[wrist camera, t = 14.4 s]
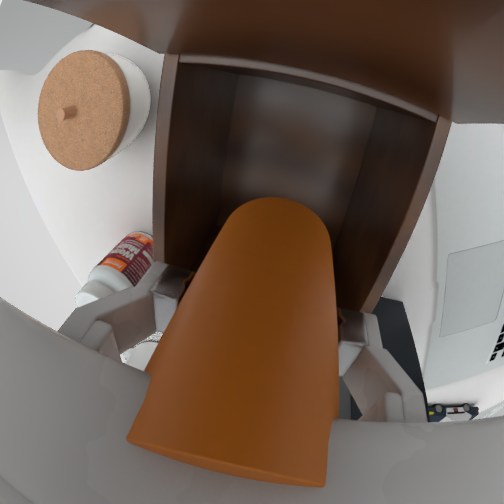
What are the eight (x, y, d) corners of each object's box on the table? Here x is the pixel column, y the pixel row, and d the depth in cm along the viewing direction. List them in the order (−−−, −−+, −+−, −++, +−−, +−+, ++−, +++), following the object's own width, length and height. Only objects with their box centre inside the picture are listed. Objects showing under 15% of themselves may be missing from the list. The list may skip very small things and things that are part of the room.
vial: (312, 302, 14) (293, 509, 6) (215, 278, 14) (131, 470, 6) (346, 213, 11) (382, 479, 3) (228, 184, 12) (77, 407, 3)
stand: (375, 344, 35) (383, 518, 15) (321, 334, 36) (306, 520, 16) (402, 302, 31) (437, 501, 11) (343, 288, 32) (346, 513, 11)
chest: (336, 257, 30) (343, 358, 19) (210, 226, 30) (156, 311, 19) (385, 101, 21) (454, 115, 9) (233, 65, 21) (165, 47, 10)
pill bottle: (152, 224, 32) (96, 283, 22) (174, 268, 35) (131, 334, 25) (116, 236, 34) (61, 290, 24) (138, 275, 36) (93, 335, 27)
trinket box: (97, 157, 28) (40, 187, 21) (80, 73, 23) (17, 82, 15) (177, 138, 26) (124, 164, 18) (160, 39, 21) (99, 27, 13)
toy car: (426, 403, 42) (429, 424, 38) (477, 402, 41) (481, 420, 37) (412, 415, 45) (415, 435, 41) (463, 414, 44) (467, 431, 40)
